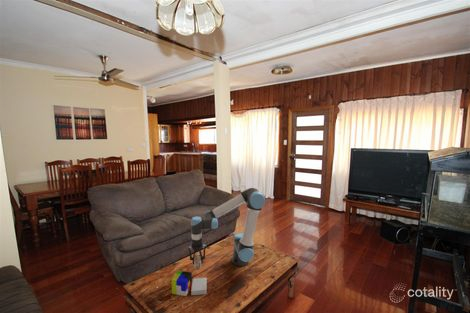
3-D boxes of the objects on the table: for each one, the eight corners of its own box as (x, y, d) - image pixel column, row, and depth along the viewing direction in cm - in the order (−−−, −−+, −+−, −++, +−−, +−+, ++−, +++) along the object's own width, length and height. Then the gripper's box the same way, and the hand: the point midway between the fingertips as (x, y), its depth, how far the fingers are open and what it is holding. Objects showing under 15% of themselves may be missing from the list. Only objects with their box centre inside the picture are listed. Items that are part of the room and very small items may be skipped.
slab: (206, 282, 153) (206, 277, 153) (206, 294, 142) (206, 289, 141) (192, 283, 152) (192, 278, 152) (191, 295, 140) (191, 290, 140)
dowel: (200, 266, 160) (199, 253, 159) (200, 269, 157) (199, 256, 156) (195, 266, 160) (195, 254, 159) (195, 269, 156) (195, 257, 155)
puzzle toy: (185, 296, 139) (185, 282, 138) (171, 293, 141) (171, 279, 140) (191, 285, 149) (191, 272, 148) (178, 283, 151) (178, 270, 150)
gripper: (208, 234, 161) (208, 263, 163) (185, 236, 158) (187, 265, 160) (208, 239, 153) (209, 269, 156) (184, 241, 151) (186, 272, 153)
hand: (198, 267), depth 158 cm, fingers closed on dowel, 3 cm apart
